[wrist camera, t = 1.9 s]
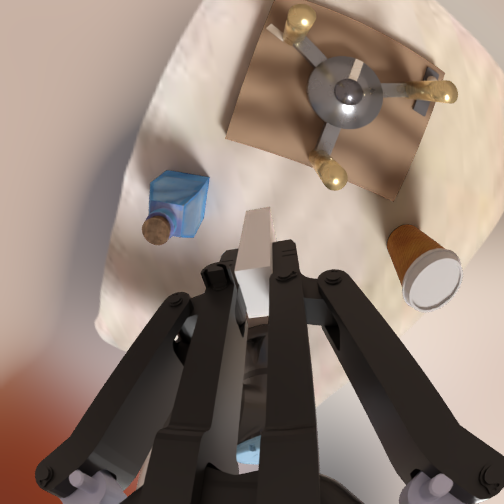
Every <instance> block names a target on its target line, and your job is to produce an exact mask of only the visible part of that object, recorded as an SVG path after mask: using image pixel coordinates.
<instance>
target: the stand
mask: <svg viewBox="0 0 504 504" xmlns="http://www.w3.org/2000/svg"><path fill="white" fill-rule="evenodd" d="M296 4H306V5H308V6H310V7H312V8H313V9H314V11H315V12H316V20H315V22H314V24H313V25H312V27H311V29H310V30H309V32H308V34H307V35H306V37H307V38H308V39H309V40H310V41H311V42H312V43H313V44H314V45H315V46H316V47H317V48H318V49H319V50H320V51H321V52H322V53H323V54H324V55H325V56H326V58H327V59H329V58H332V57H336V56H347V57H352V58H355V59H358V60H360V61H362V62H364V63H365V64H366V65H368V66H369V67H370V68H371V69H372V70H373V71H374V72H375V74H376V75H377V77H378V79H379V81H380V83H403V82H407V81H443V78H444V74H445V73H444V72H443V71H442V70H440V69H439V68H438V67H436V66H435V65H433V64H432V63H430V62H429V61H428V60H426V59H425V58H423V57H422V56H420V55H418V54H417V53H415V52H414V51H412V50H411V49H409V48H407V47H406V46H404V45H402V44H401V43H399V42H397V41H396V40H394V39H392V38H390V37H388V36H387V35H385V34H383V33H381V32H379V31H377V30H375V29H373V28H371V27H369V26H367V25H365V24H363V23H361V22H359V21H357V20H354V19H352V18H350V17H348V16H345V15H343V14H341V13H338V12H336V11H333V10H331V9H328V8H326V7H323V6H320V5H317V4H315V3H312V2H309V1H306V0H274V2H273V5H272V7H271V10H270V12H269V15H268V17H267V20H266V22H265V25H264V27H263V30H262V32H261V35H260V38H259V40H258V43H257V46H256V48H255V51H254V54H253V56H252V59H251V62H250V65H249V68H248V70H247V73H246V76H245V79H244V82H243V85H242V88H241V91H240V94H239V97H238V100H237V103H236V106H235V109H234V112H233V115H232V118H231V121H230V124H229V128H228V131H227V134H226V137H225V139H228V140H232V141H235V142H238V143H242V144H245V145H248V146H252V147H255V148H258V149H261V150H264V151H267V152H270V153H273V154H276V155H279V156H282V157H285V158H288V159H291V160H294V161H296V162H299V163H302V164H305V165H307V166H310V167H313V166H312V165H311V163H310V162H309V154H310V152H311V151H312V150H313V149H314V148H315V146H316V143H317V141H318V138H319V135H320V133H321V130H322V128H323V125H324V122H325V121H323V120H322V119H321V118H319V117H318V116H317V115H316V113H315V112H314V111H313V109H312V108H311V106H310V104H309V101H308V98H307V92H306V86H307V81H308V78H309V76H310V74H311V72H312V71H313V69H314V68H313V67H312V66H311V65H310V64H309V63H308V61H307V60H306V59H305V58H304V57H303V56H302V55H301V54H300V53H299V52H298V51H297V50H296V49H295V48H294V47H293V46H290V45H288V44H286V43H285V42H284V40H283V33H284V29H285V25H286V20H287V16H288V12H289V9H290V8H291V7H292V6H294V5H296ZM434 105H435V101H425V100H414V99H406V98H404V97H388V98H383V103H382V107H381V110H380V112H379V114H378V115H377V117H376V118H375V119H374V120H373V121H372V122H371V123H369V124H368V125H366V126H364V127H361V128H358V129H342V128H341V130H340V133H339V135H338V138H337V140H336V143H335V145H334V148H333V150H332V153H331V155H330V156H331V157H332V158H333V159H334V160H335V161H336V162H337V163H338V164H339V165H340V166H341V167H342V168H344V169H345V171H346V172H347V175H348V180H347V181H348V182H350V183H353V184H355V185H357V186H360V187H362V188H364V189H367V190H369V191H371V192H373V193H376V194H378V195H380V196H382V197H384V198H387V199H389V200H391V201H393V202H394V200H395V198H396V196H397V194H398V192H399V190H400V188H401V186H402V183H403V181H404V179H405V177H406V175H407V172H408V170H409V168H410V166H411V163H412V161H413V159H414V156H415V154H416V152H417V149H418V147H419V144H420V142H421V139H422V137H423V134H424V132H425V129H426V127H427V124H428V121H429V119H430V116H431V113H432V111H433V108H434Z"/></svg>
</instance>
